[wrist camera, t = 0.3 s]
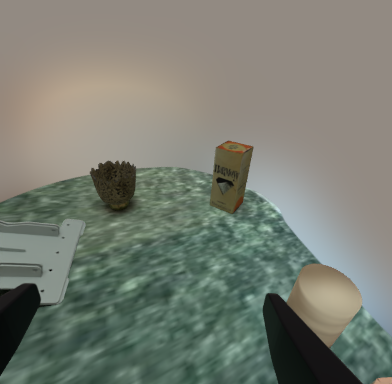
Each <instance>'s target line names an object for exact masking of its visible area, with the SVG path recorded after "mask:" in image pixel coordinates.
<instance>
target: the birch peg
mask: <svg viewBox="0 0 392 384" xmlns="http://www.w3.org/2000/svg"><path fill="white" fill-rule="evenodd" d="M287 304H288V305H289V306H290V307H291V308H292V309H293V311H294V312H295V313H296V314H297V315H298V316H299V317H300V318H301V319H302V320H303V321H304V322H305V323H306V324H307V325H308V326H309V327H310V328H311V330H312V331H313V332H314V333H315V334H316V335H317V336H318V337H319V338H320V339H321V340H322V341H323V342H324V343H325V344H326V345H327V346H328V348H330V347H331V346H332V344H333V343H334V342H335V341H336V339H337V338H338V337H339V335H340V334H341V333H342V331H343V330H344V329H345V328H346V326H347V325H348V324H349V322H350V321H351V320H352V318H353V317H354V316H355V315H356V313H357V312H358V311H359V309H360V308H361V306H362V297H361V294H360V292H359V290H358V288H357V287H356V286H355V284H354V283H353V282H352V281H351V280H350V279H349V278H348V277H347V276H345V275H344V274H343V273H341V272H340V271H338V270H336V269H334V268H332V267H329V266H326V265H322V264H309V265H306V266H305V267H303V268H302V270H301V272H300V274H299V276H298V278H297V280H296V283H295V285H294V287H293V289H292V291H291V294H290V296H289V298H288V300H287Z"/></svg>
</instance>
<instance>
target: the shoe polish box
mask: <svg viewBox="0 0 392 384" xmlns="http://www.w3.org/2000/svg"><path fill="white" fill-rule="evenodd" d="M252 151H253V146H249V145H244V144H240V143H236V142H232V141H227V142H225V143H223V144H221V145H220V146H218V147H216V151H215V160H214V170H213V180H212V190H211V200H210V205H211V206H214V207H216V208H219V209H221V210H224V211H226V212H229V213H231V214H233V213H234V212H235V211H236V209H237V208H238V207H239V206H240V205H241V204H242V203H243V198H244V193H245V187H246V182H247V177H248V172H249V167H250V161H251V157H252Z"/></svg>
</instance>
